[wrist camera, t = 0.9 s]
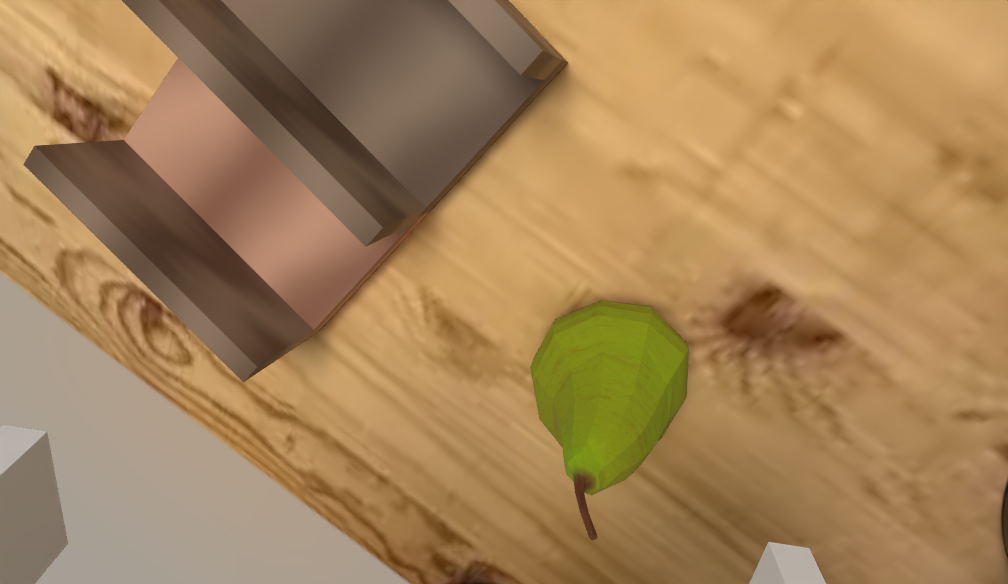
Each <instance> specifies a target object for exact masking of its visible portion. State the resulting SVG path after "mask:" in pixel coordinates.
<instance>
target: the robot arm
mask: <svg viewBox="0 0 1008 584" xmlns="http://www.w3.org/2000/svg"><path fill="white" fill-rule="evenodd" d="M1003 528H1004V539H1005V545H1006V550H1007V554H1008V490H1007V495H1006V499H1005V506H1004V517H1003ZM67 544H68V541H67V536H66V531H65V525H64V520H63V514H62V509H61V504H60V498H59V493H58V488H57V482H56V477H55V472H54V467H53V461H52V455H51V450H50V445H49V439H48V434H47V432H45V431H38V430H32V429H24V428H19V427H12V426H5V425H3V426H2V427H1V428H0V584H35V583H36V582H37V580H38V579H39V578H40V577H41V576H42V574H43V573H44V572H45V571H46V570H47V568H48V567H49V566H50V565H51V564H52V562H53V561H54V560H55V559H56V558H57V556H58V555H59V554H60V553H61V552H62V550H63V549H64V548H65V547H66V545H67ZM749 584H826V582H825V580H824V578H823V576H822V574H821V572H820V570H819V568H818V566H817V564H816V561H815V559H814V557H813V555H812V553H811V551H810V549H809V548H805V547H799V546H792V545H786V544H779V543H773V542H768V544H767V546H766V548H765V550H764V552H763V555H762V557H761V559H760V561H759V563H758V566H757V568H756V570H755V572H754V574H753V577H752V579H751V581H750V583H749Z"/></svg>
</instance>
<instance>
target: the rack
mask: <svg viewBox="0 0 1008 584" xmlns="http://www.w3.org/2000/svg"><path fill="white" fill-rule="evenodd" d="M122 1H123V2H124V3H125V4H126V5H127V6H128V7H129V8H130V9H131V10H132V11H133V12H134V13H135V14H136V15H137V16H138V17H139V18H140V19H141V20H142V21H143V22H144V23H145V24H146V25H147V26H148V27H149V28H150V29H151V30H152V31H153V32H154V33H155V34H156V35H157V36H158V37H159V38H160V39H161V41H162V42H163V43H164V44H165V45H166V46H167V47H168V48H169V49H170V50H171V51H172V52H173V53H174V54H175V55H176V56H177V57H178V59H177V60H176V62H175V63H174V65H173V66H172V68H171V69H170V71H169V72H168V74H167V75H166V77H165V78H164V80H163V82H162V83H161V85H160V86H159V88H158V89H157V91H156V92H155V94H154V95H153V97H152V98H151V100H150V101H149V103H148V104H147V106H146V107H145V109H144V110H143V112H142V113H141V115H140V116H139V118H138V119H137V121H136V122H135V124H134V125H133V127H132V129H131V130H130V132H129V133H128V135H127V136H126V138H125V139H124V140H118V141H102V142H87V143H72V144H56V145H41V146H34V148H33V149H32V151H31V153H30V154H29V156H28V158H27V159H26V161H25V163H24V164H23V165H24V166H25V167H27V168H28V169H29V170H30V171H31V172H32V173H33V174H34V175H35V176H36V177H37V178H38V179H39V180H40V181H41V182H42V183H43V184H44V185H45V186H46V187H47V188H48V189H49V190H50V191H51V192H52V193H53V194H54V195H55V196H56V197H57V198H58V199H59V200H60V201H61V202H62V203H63V204H64V205H65V206H66V207H67V208H68V209H69V210H70V211H71V212H72V213H73V214H74V215H75V216H76V217H77V218H78V219H79V220H80V221H81V222H82V223H83V224H84V225H85V226H86V227H87V228H88V229H89V230H90V231H91V232H92V233H93V234H94V235H95V236H96V237H97V238H98V239H99V240H100V241H101V242H102V243H103V244H104V245H105V246H106V247H107V248H108V249H109V250H110V251H111V252H112V253H113V254H114V255H115V256H116V257H117V258H118V259H119V260H120V261H121V262H122V263H124V264H125V265H126V266H127V267H128V268H129V269H130V270H131V271H132V272H133V273H134V274H135V275H136V276H137V277H138V278H139V279H140V280H141V281H142V282H143V283H144V284H145V285H146V286H147V287H148V288H149V289H150V290H151V291H152V292H153V293H154V294H155V295H156V296H157V297H158V298H159V299H160V300H161V301H162V302H163V303H164V304H165V305H166V306H167V307H168V308H169V309H170V310H171V311H172V312H173V313H174V314H175V315H176V316H177V317H178V318H179V319H180V320H181V321H182V322H183V323H184V324H185V325H186V326H187V327H188V328H189V329H190V330H191V331H192V332H193V333H194V334H195V335H196V336H197V337H198V338H199V339H200V340H201V341H202V342H203V343H204V344H205V345H206V346H207V347H208V348H209V349H210V350H211V351H212V352H213V353H214V354H215V355H216V356H217V357H218V358H219V359H221V360H222V361H223V362H224V363H225V364H226V365H227V366H228V367H229V368H230V369H231V370H232V371H233V372H234V373H235V374H236V375H237V376H238V377H239V378H240V379H241V380H242V381H243V382H244V381H246V380H247V379H249V378H250V377H252V376H253V375H255V374H256V373H258V372H259V371H261V370H262V369H264V368H265V367H267V366H268V365H270V364H271V363H273V362H274V361H276V360H277V359H279V358H280V357H282V356H283V355H285V354H286V353H288V352H289V351H291V350H292V349H294V348H295V347H297V346H298V345H300V344H301V343H303V342H304V341H306V340H307V339H309V338H310V337H312V336H313V335H315V334H316V333H318V331H319V330H320V329H321V328H322V327H323V326H324V325H325V324H326V323H327V322H328V321H329V320H330V319H331V317H332V316H333V315H334V314H335V313H336V312H337V311H338V310H339V309H340V308H341V307H342V306H343V305H344V303H345V302H346V301H347V300H348V299H349V298H350V297H351V296H352V295H353V294H354V293H355V292H356V291H357V289H358V288H359V287H360V286H361V285H362V284H363V283H364V282H365V281H366V280H367V279H368V278H369V276H370V275H371V274H372V273H373V272H374V271H375V270H376V269H377V268H378V267H379V266H380V265H381V264H382V262H383V261H384V260H385V259H386V258H387V257H388V256H389V255H390V254H391V253H392V252H393V251H394V250H395V248H396V247H397V246H398V245H399V244H400V243H401V242H402V241H403V240H404V239H405V238H406V237H407V236H408V234H409V233H410V232H411V231H412V230H413V229H414V228H415V227H416V226H417V225H418V224H419V223H420V222H421V220H422V219H423V218H424V217H425V216H426V215H427V214H428V213H429V212H430V211H431V210H432V209H433V207H434V206H435V205H436V204H437V203H438V202H439V201H440V200H441V199H442V198H443V197H444V196H445V195H446V193H447V192H448V191H449V190H450V189H451V188H452V187H453V186H454V185H455V184H456V183H457V182H458V181H459V179H460V178H461V177H462V176H463V175H464V174H465V173H466V172H467V171H468V170H469V169H470V168H471V167H472V165H473V164H474V163H475V162H476V161H477V160H478V159H479V158H480V157H481V156H482V155H483V154H484V153H485V151H486V150H487V149H488V148H489V147H490V146H491V145H492V144H493V143H494V142H495V141H496V140H497V138H498V137H499V136H500V135H501V134H502V133H503V132H504V131H505V130H506V129H507V128H508V127H509V126H510V124H511V123H512V122H513V121H514V120H515V119H516V118H517V117H518V116H519V115H520V114H521V113H522V112H523V110H524V109H525V108H526V107H527V106H528V105H529V104H530V103H531V102H532V101H533V100H534V99H535V98H536V96H537V95H538V94H539V93H540V92H541V91H542V90H543V89H544V88H545V87H546V86H547V85H548V83H549V82H550V81H551V80H552V79H553V78H554V77H555V76H556V75H557V74H558V73H559V72H560V71H561V69H562V68H563V67H564V66H565V65H566V64H567V63H568V62H567V61H566V60H565V59H564V58H563V57H562V56H561V55H560V54H559V53H558V52H557V51H556V49H555V48H554V47H553V46H552V45H551V44H550V43H549V42H548V41H547V40H546V39H545V38H544V37H543V36H542V35H541V34H540V33H539V32H538V31H537V30H536V29H535V28H534V27H533V25H532V24H531V23H530V22H529V21H528V20H527V19H526V18H525V17H524V16H523V15H522V14H521V13H520V12H519V11H518V10H517V9H516V8H515V7H514V6H513V5H512V4H511V3H510V1H509V0H122Z"/></svg>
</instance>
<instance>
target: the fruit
mask: <svg viewBox="0 0 1008 584" xmlns="http://www.w3.org/2000/svg"><path fill="white" fill-rule="evenodd" d="M688 352H689V348H688V346H687V344H686V342H685V341H684V340H683V338H682V337H681V336H680V335H679V334H678V333H677V332H676V331H675V330H674V329H673V328H672V327H671V326H670V325H669V324H668V323H667V322H666V321H665V320H664V319H663V318H662V317H661V316H660V315H659V314H658V313H657V312H656V311H655V310H654V309H653V308H652V307H648V306H640V305H632V304H624V303H615V302H607V301H599V302H597V303H594V304H592V305H589V306H587V307H584V308H582V309H579V310H577V311H574V312H572V313H569V314H567V315H564V316H562V317H559V318H557V319H555V321H554V323H553V324H552V326H551V328H550V330H549V332H548V333H547V335H546V337H545V339H544V341H543V343H542V344H541V346H540V348H539V350H538V352H537V353H536V355H535V357H534V359H533V361H532V364H531V366H530V368H531V373H532V379H533V384H534V390H535V396H536V401H537V407H538V412H539V418H540V420H541V421H542V422H543V424H544V425H545V426H546V427H547V429H548V430H549V431H550V432H551V434H552V435H553V436H554V437H555V439H556V440H557V441H558V442H559V444H560V445H561V446H562V447H563V454H564V463H565V469H566V473H567V475H568V476H569V477H570V478H571V479H572V480H573V482H574V486H575V493H576V497H577V501H578V505H579V509H580V513H581V516H582V519H583V521H584V524H585V527H586V530H587V532H588V535H589V538H590V539H591V540H595V539H596V538H597V534H596V531H595V528H594V526H593V523H592V520H591V518H590V515H589V513H588V508H587V504H586V500H585V496H584V492H585V493H587V494H589V495H593V494H595V493H597V492H600V491H602V490H604V489H606V488H608V487H610V486H612V485H615V484H617V483H619V482H621V481H623V480H625V479H626V478H628V477H629V476H630V475H631V474H632V473H633V472H634V471H635V470H636V469H637V468H638V467H639V466H640V465H641V463H642V462H643V461H644V459H645V458H646V456H647V455H648V454H649V452H650V451H651V450H652V448H653V447H654V446H655V444H656V443H657V441H659V440H660V439H661V438H662V436H663V434H664V433H665V431H666V429H667V428H668V426H669V425H670V423H671V421H672V420H673V418H674V416H675V415H676V413H677V411H678V410H679V408H680V407H681V405H682V404H683V402H684V400H685V399H686V396H687V374H688Z"/></svg>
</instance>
